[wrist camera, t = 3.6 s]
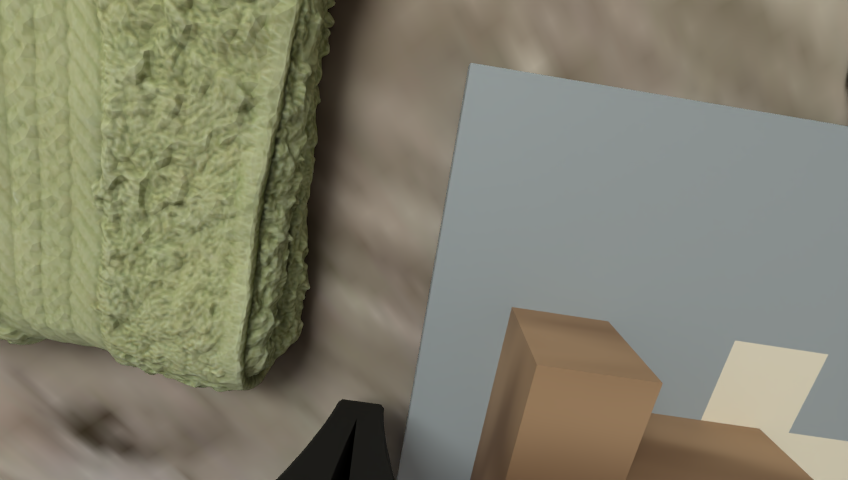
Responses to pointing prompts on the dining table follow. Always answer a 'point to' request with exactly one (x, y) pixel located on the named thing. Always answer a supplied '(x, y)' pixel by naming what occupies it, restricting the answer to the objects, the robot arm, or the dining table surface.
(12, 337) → the washcloth
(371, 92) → the dining table surface
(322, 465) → the robot arm
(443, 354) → the board
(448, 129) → the dining table surface
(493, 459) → the tee block
